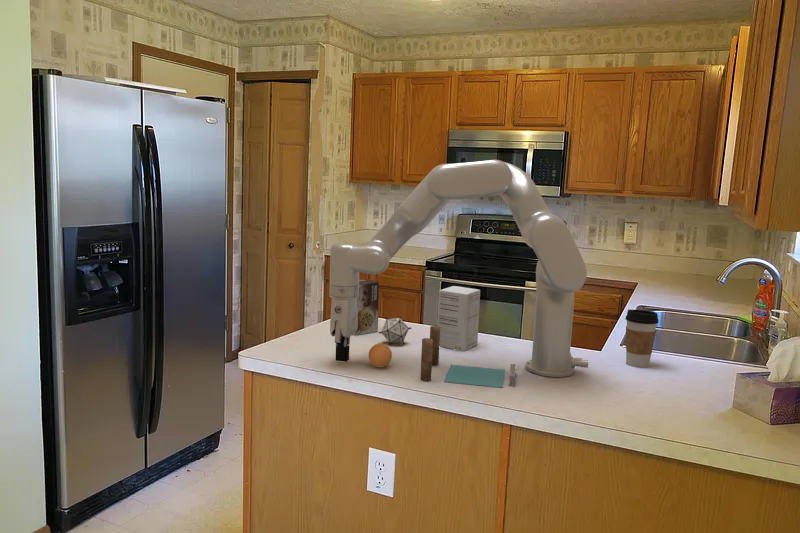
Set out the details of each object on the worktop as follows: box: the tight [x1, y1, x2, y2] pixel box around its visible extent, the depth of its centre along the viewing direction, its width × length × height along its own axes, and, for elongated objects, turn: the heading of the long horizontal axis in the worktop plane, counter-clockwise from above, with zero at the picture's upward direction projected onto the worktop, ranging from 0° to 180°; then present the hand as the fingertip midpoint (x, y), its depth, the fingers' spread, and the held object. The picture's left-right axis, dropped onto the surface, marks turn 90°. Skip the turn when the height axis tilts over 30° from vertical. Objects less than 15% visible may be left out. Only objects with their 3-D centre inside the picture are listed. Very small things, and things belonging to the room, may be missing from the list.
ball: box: [368, 343, 393, 368], centre depth 157 cm, size 6×6×6 cm
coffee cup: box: [625, 309, 659, 369], centre depth 167 cm, size 8×8×15 cm
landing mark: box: [443, 364, 505, 389], centre depth 152 cm, size 14×14×1 cm
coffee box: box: [351, 278, 380, 336], centre depth 191 cm, size 9×6×16 cm
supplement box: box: [437, 285, 481, 352], centre depth 179 cm, size 10×9×17 cm
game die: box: [378, 315, 412, 346], centre depth 179 cm, size 9×8×10 cm
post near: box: [419, 337, 433, 382], centre depth 148 cm, size 3×3×10 cm
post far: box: [429, 325, 440, 367], centre depth 160 cm, size 3×3×10 cm
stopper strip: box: [508, 363, 516, 387], centre depth 151 cm, size 1×10×2 cm, turn 169°
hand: (342, 360), depth 159 cm, fingers closed
